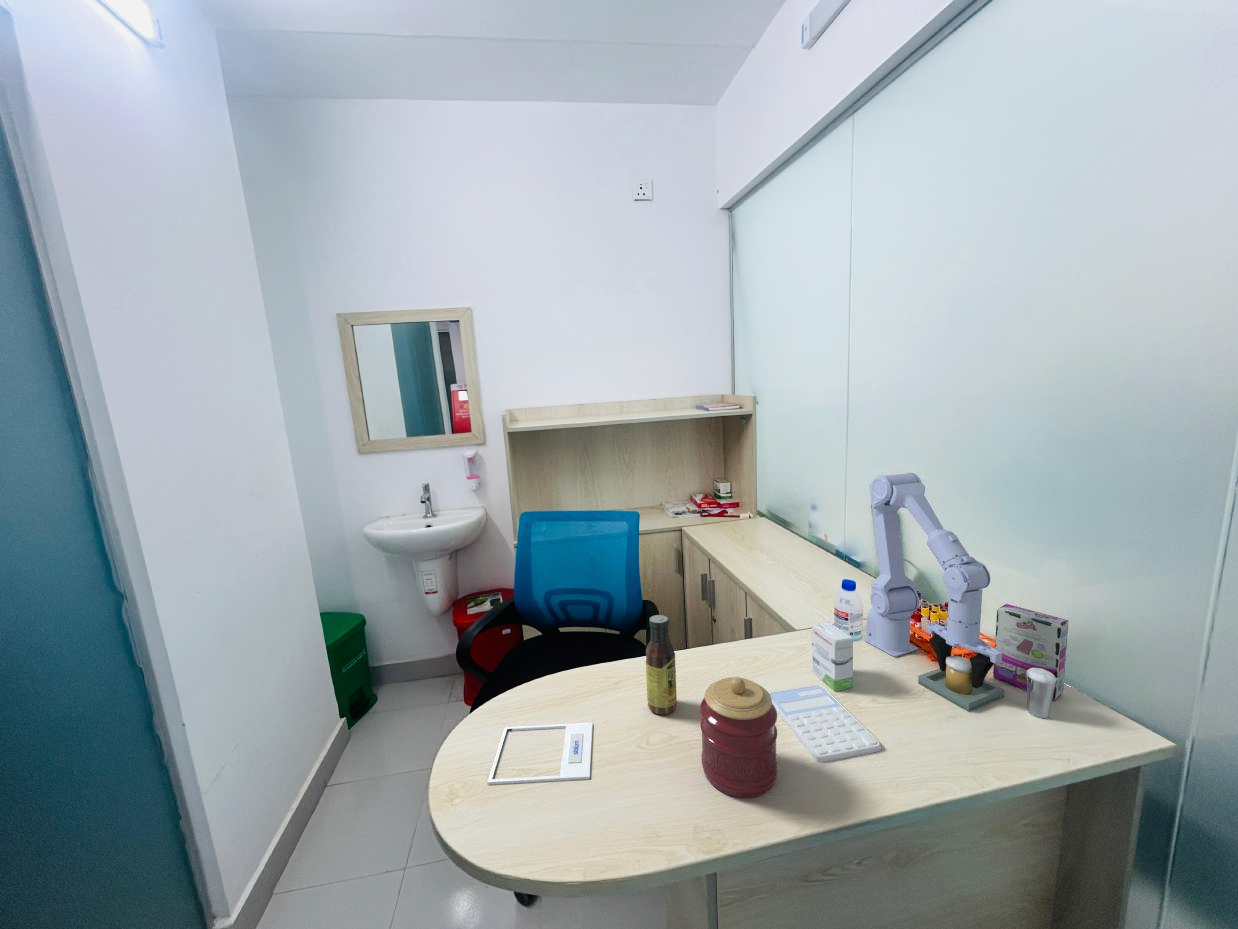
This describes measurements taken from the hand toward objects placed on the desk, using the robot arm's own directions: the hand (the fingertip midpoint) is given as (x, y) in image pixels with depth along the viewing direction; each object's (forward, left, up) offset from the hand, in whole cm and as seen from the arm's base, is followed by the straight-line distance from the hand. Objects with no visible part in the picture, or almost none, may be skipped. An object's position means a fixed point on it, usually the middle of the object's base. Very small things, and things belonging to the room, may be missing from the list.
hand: (960, 678), depth 108 cm
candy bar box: (+5, +14, -3) cm, 15 cm away
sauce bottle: (-23, -60, -3) cm, 64 cm away
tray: (0, 0, -3) cm, 3 cm away
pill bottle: (0, 0, -2) cm, 2 cm away
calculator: (-5, -34, -4) cm, 35 cm away
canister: (-1, -56, -3) cm, 56 cm away
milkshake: (+12, +6, -3) cm, 14 cm away
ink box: (-15, -21, -3) cm, 26 cm away
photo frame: (-21, -86, -3) cm, 89 cm away
